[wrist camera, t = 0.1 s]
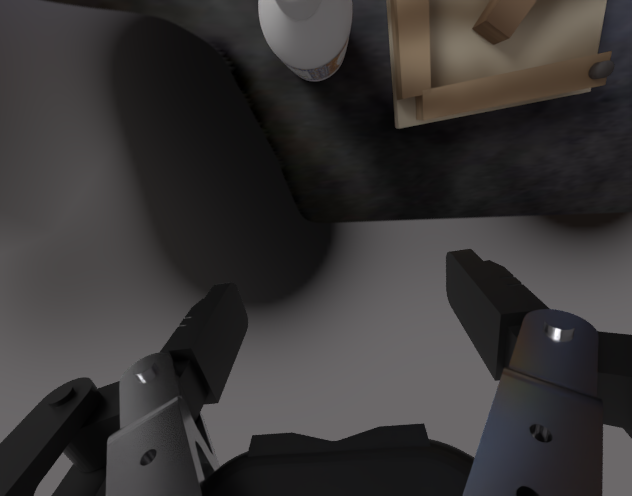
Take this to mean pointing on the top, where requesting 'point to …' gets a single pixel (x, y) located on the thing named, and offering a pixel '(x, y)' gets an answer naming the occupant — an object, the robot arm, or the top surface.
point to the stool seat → (490, 57)
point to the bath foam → (307, 34)
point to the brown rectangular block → (501, 19)
